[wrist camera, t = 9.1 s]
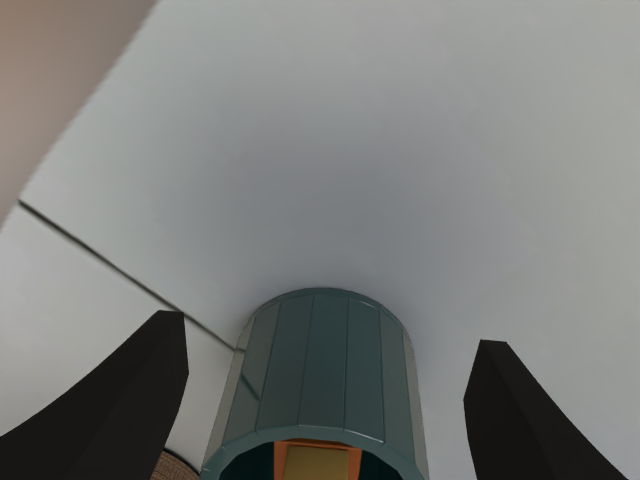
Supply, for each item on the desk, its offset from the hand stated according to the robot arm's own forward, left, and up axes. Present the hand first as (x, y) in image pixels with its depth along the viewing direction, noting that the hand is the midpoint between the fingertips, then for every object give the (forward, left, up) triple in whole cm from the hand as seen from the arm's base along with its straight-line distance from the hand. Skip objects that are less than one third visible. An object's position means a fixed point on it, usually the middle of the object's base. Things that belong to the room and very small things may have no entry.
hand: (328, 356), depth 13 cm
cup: (-9, 0, -9) cm, 13 cm away
